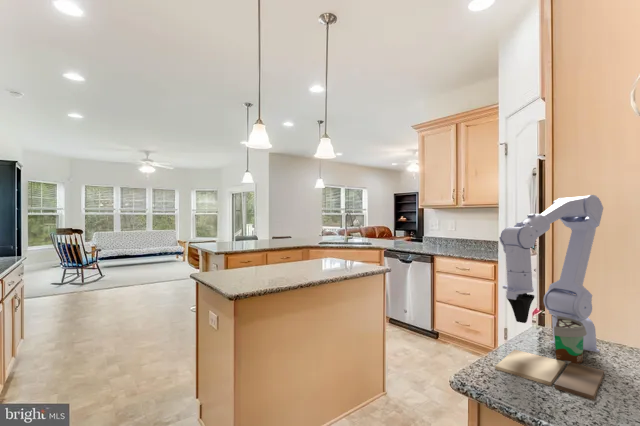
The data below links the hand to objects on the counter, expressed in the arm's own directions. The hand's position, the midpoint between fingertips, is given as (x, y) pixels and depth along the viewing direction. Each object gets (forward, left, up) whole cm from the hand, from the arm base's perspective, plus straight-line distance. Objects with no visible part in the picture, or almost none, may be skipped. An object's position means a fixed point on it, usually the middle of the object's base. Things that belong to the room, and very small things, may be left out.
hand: (521, 321), depth 83 cm
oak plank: (+4, +7, -9) cm, 12 cm away
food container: (-10, +5, -10) cm, 15 cm away
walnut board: (-1, +15, -9) cm, 18 cm away
